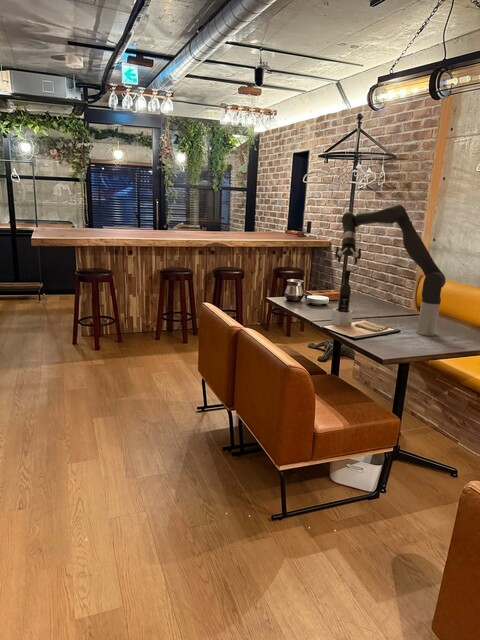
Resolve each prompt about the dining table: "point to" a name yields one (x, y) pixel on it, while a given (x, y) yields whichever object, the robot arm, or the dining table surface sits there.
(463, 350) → the dining table surface
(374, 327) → the oak board
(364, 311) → the dining table surface
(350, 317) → the wooden sleeve
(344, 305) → the wine bottle
